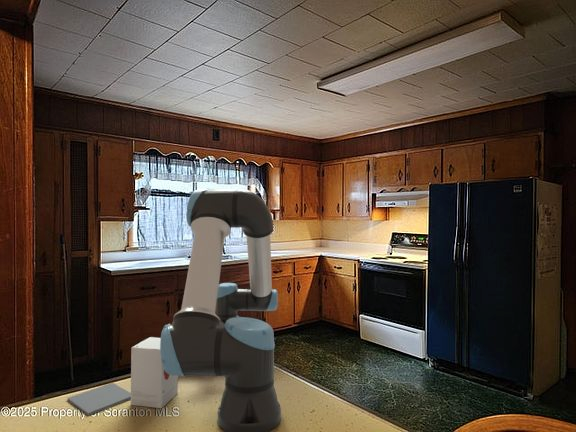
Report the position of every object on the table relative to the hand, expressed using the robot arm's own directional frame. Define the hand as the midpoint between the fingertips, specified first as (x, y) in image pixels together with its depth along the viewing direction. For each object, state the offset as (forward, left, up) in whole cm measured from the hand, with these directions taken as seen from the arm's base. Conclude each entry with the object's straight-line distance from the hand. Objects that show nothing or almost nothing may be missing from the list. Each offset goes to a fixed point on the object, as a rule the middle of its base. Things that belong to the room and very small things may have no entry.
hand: (174, 357), depth 112 cm
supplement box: (-3, +8, -8) cm, 12 cm away
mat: (+8, +17, -8) cm, 21 cm away
